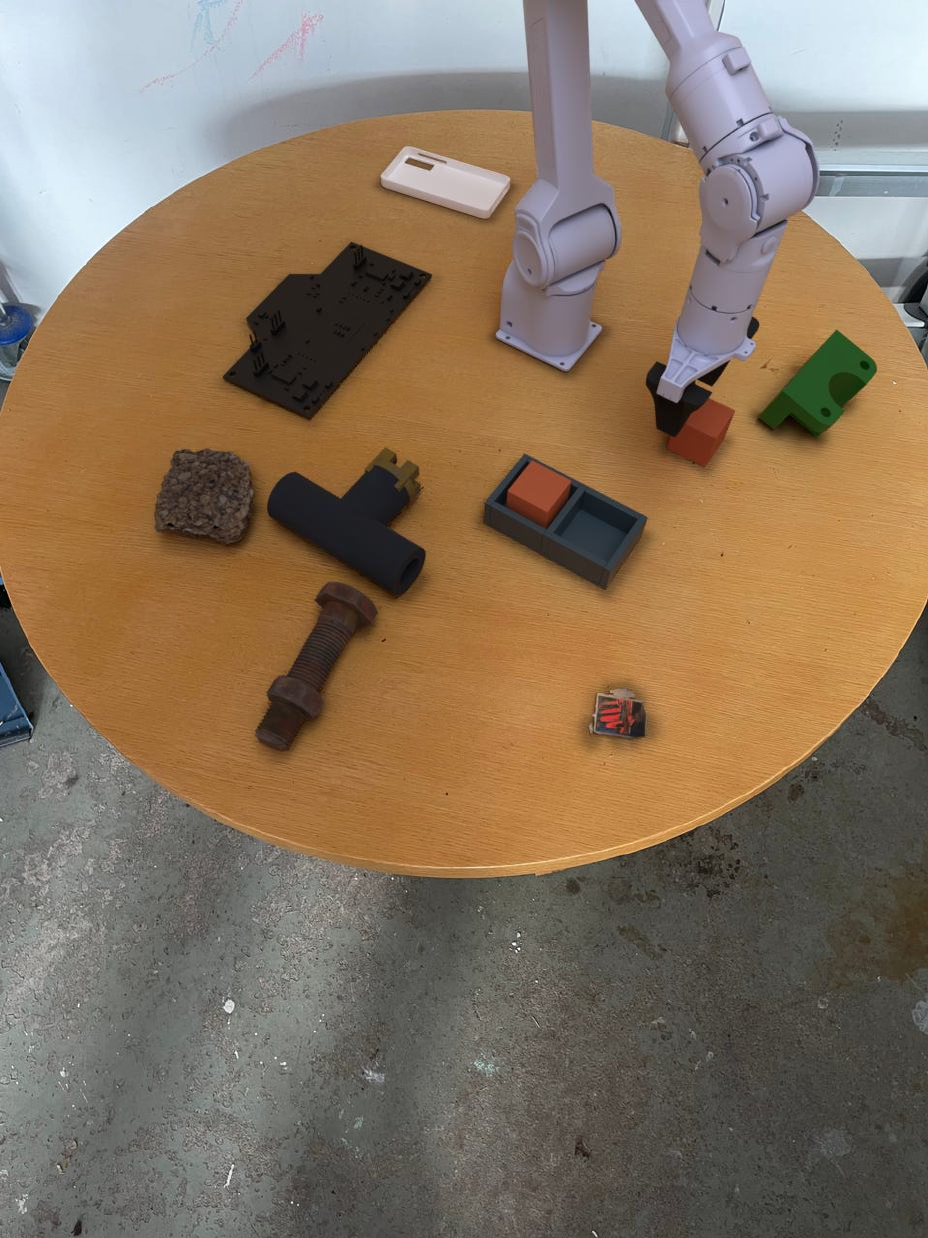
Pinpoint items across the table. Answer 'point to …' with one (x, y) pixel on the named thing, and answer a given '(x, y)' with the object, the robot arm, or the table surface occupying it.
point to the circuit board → (323, 327)
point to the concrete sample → (206, 496)
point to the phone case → (447, 183)
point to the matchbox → (619, 715)
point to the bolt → (314, 664)
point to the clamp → (822, 386)
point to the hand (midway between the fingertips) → (685, 404)
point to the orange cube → (538, 494)
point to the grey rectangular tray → (572, 528)
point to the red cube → (702, 432)
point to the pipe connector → (357, 520)
